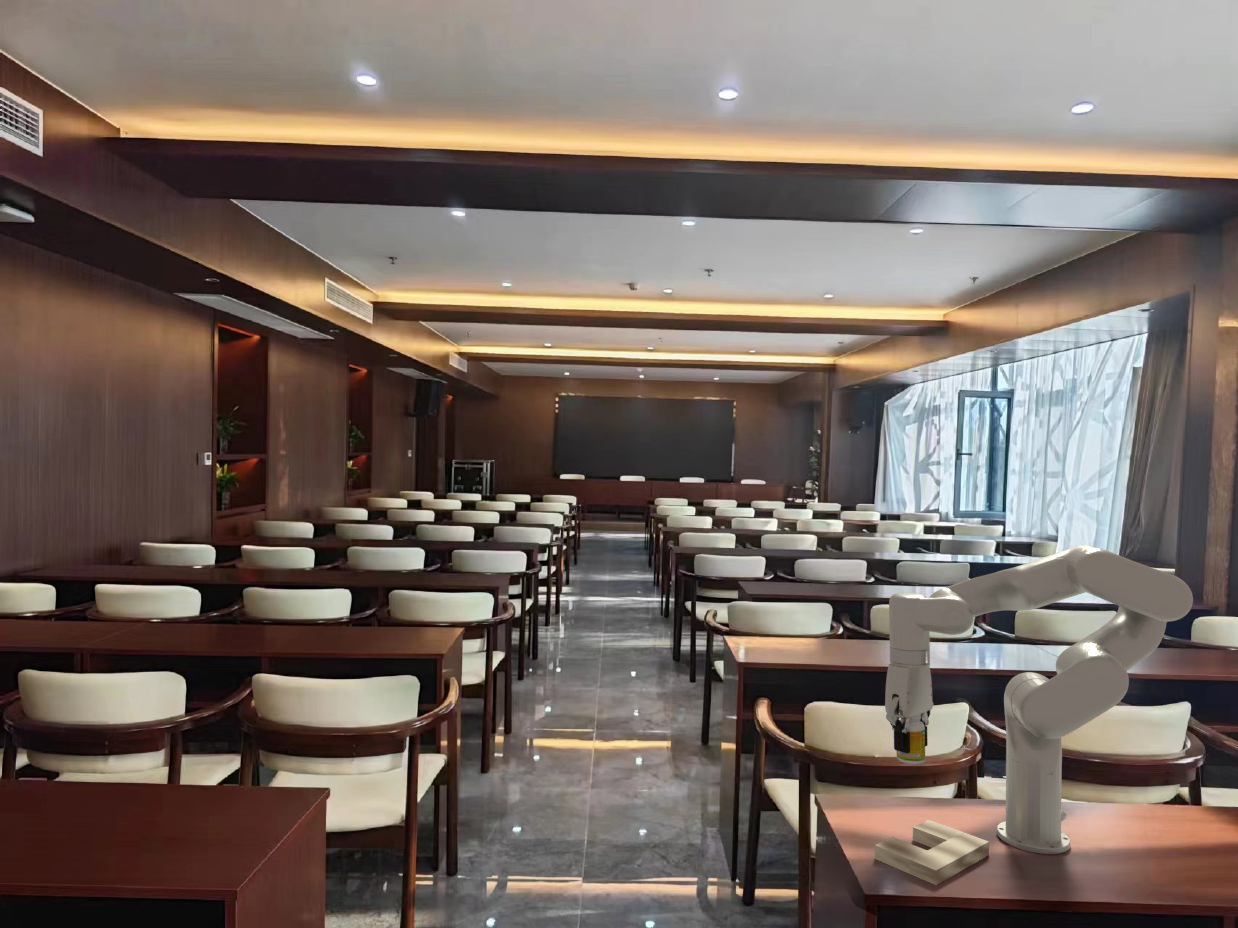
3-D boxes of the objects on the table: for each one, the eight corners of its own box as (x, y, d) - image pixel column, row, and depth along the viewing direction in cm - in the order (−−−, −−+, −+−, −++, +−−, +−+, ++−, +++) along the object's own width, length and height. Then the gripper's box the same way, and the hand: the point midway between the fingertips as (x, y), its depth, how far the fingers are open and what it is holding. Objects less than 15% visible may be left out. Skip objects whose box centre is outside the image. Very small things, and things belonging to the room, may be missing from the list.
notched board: (928, 832, 161) (928, 819, 161) (988, 855, 152) (988, 841, 152) (874, 858, 150) (874, 844, 150) (935, 885, 140) (936, 870, 140)
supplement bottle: (927, 765, 160) (926, 715, 160) (898, 763, 161) (897, 714, 162) (923, 756, 166) (922, 707, 166) (894, 754, 167) (894, 706, 167)
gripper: (916, 647, 172) (917, 734, 172) (867, 659, 161) (868, 752, 161) (950, 653, 166) (951, 743, 166) (902, 666, 155) (903, 762, 155)
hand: (910, 747), depth 164 cm, fingers closed on supplement bottle, 5 cm apart
